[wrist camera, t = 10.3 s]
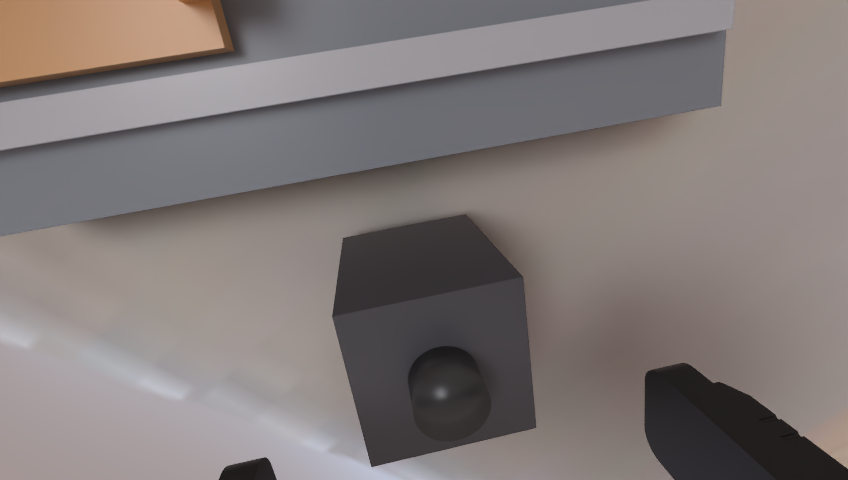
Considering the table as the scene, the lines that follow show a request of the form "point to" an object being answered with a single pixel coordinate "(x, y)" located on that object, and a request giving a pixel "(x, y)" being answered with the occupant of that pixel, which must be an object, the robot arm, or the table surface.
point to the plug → (432, 338)
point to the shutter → (104, 35)
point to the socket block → (347, 97)
